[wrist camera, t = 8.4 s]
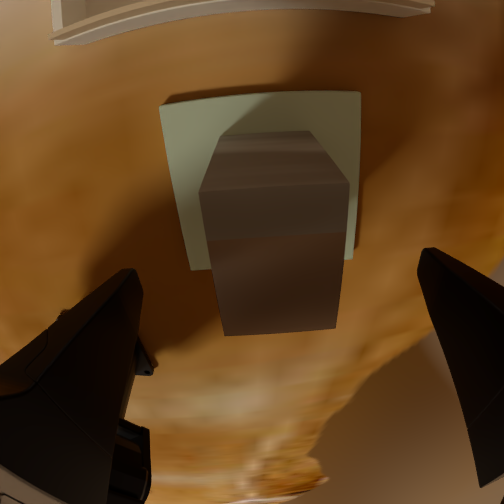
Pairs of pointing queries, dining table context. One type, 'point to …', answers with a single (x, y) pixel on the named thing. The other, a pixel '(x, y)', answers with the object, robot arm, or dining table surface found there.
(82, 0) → the carton
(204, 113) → the sage mat
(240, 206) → the walnut box
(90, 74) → the dining table surface
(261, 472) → the dining table surface
